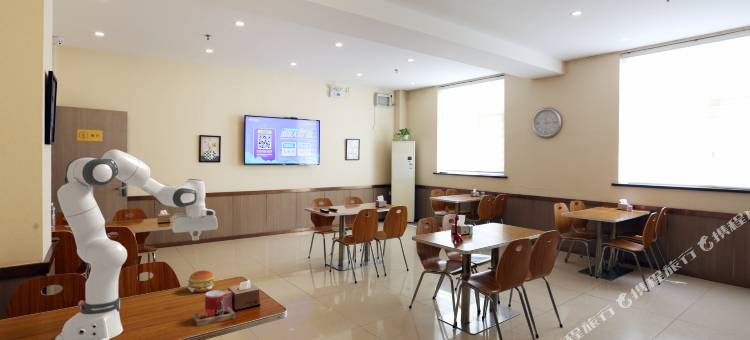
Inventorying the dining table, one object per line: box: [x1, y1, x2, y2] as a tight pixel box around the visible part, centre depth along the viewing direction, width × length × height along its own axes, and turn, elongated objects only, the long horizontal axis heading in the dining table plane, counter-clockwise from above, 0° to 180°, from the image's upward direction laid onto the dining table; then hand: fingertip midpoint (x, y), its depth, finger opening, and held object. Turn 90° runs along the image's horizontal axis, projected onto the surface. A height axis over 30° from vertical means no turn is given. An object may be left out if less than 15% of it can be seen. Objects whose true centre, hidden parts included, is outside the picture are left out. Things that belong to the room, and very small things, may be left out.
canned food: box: [204, 289, 225, 318], centre depth 186 cm, size 8×8×11 cm
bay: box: [192, 306, 236, 327], centre depth 184 cm, size 16×10×2 cm, turn 123°
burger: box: [187, 270, 216, 293], centre depth 220 cm, size 14×14×10 cm
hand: (195, 240), depth 201 cm, fingers closed
